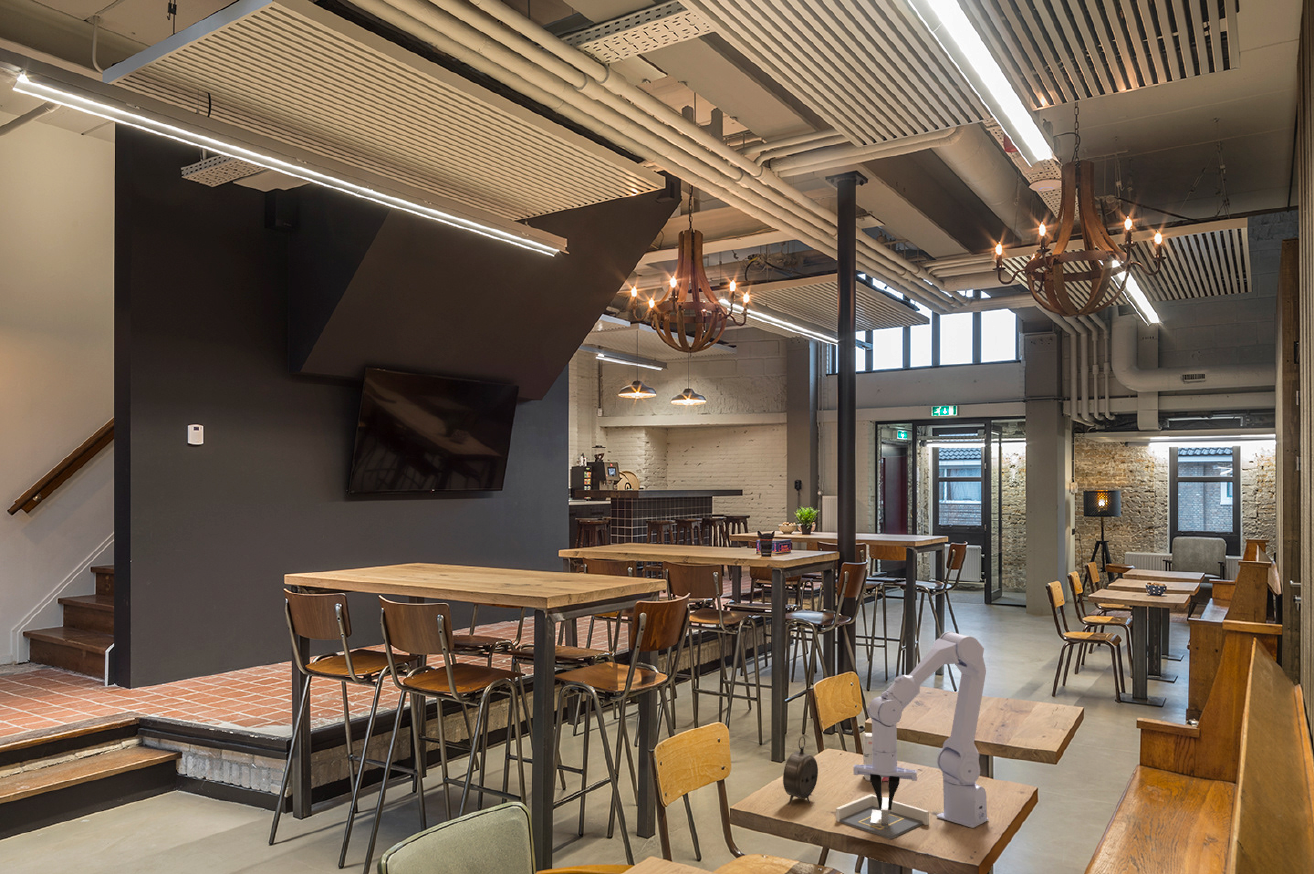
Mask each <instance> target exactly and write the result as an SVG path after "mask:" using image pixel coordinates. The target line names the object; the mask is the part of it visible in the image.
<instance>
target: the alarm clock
mask: <svg viewBox="0 0 1314 874" xmlns="http://www.w3.org/2000/svg"><path fill="white" fill-rule="evenodd" d="M801 739H803V746H800V745H801V744H800V743H801ZM805 746H806V738H805V736H804V735H801V736H800V737H799V738H798V748H799V750H796V751H794V752H792V754H790V756H789V757H788V758H787V760H786V763H785V765H784V770H783V774H782V783H783V788H784V791H785V793H786V794H787V795H789V796H790V797H789V801H788V805H791V804H792V801H793V799H794V797H795V798H797V799H801V800H803V799H806V800H807V802H808V804H810V803H811V801H810V796H811V794H813V792H814V790H815V788H816V785H817V781H818V776H819V767H818V763H817V760H816V758H815V757H814V756H813V755H812V754H809V753H806V752H804V751H805Z"/></svg>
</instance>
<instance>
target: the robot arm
mask: <svg viewBox="0 0 1314 874" xmlns="http://www.w3.org/2000/svg"><path fill="white" fill-rule="evenodd" d="M984 651H985V648H984V647H983V645H982V644H981V643H980V642H979V641H978V638H976V637H973V636H971V635H969V636H968V635H965V634H961V633H956V632H955V631H950V630H949V631H945V632H944V633H942V634H941V635H940V636H939V638H937V639H935V641H934V642H933V645H932V648H931V649H930V650H929V651H928V652H927V653H926V654H925V656H924V657H923V658H922V659H921V660H920V661H919V663H918V664H917V665H916V666H915V667H914V668H913V670H912V671H911V672H910V673H909V674H901V675H900V676H896V677H895V678H894V679H893V680H894V682H893V683H892V684H891V685H890V686H889V687H888V688H887V689H886V690H885V691H882V692H881V696H876V697H874V698H873V699H871V701H870V702H869V705H868V707H867V708H866V712H867V715H868V716H869V717H870V719H871V733H872V765H864V764H853V775H854V776H858V775H859V776H860V775H861V776H864V775H869V776H870V780H869V781H870V784H871V786H872V789H873V790H874V793H875V795H876V796H877V800H878V804H879V809H881V808H882V797H883V795H882V793H883V792H882V781H881V777H889V781H887V782H888V798H889V802H888V810H891V809H892V801H894V797H895V795H896V792H897V789H898V787H899V785H900V781H901V780H902V779H903V780H911V781H914V782H917V781H918V780H917V778H918V777H917V775H918V774H917V771H918V770H916V769H908V768H903V767H900V766H898V746H897V745H898V743H897V742H898V739H897V736H898V735H897V734H898V733H897V729H898V728H897V724H898V723H899V722H900V721H901V718H902V714H903V711H904V710H905V708H907V707H908V705H909V704H911V702H912V701H913V700H915V698H916V697H917V696H918V695H919V694H920V692H921V691H920V690H921V685H922V684H924V682H925V681H926V680H927V679H929V677H931V676H932V675H933V674H935V672H937V671H938V670H939V669H940V668H941V667H942V666H943V665H955V667H957V669H958V670H959V672H960V674H961V675H960V680H959V686H958V691H957V692H958V693H957V697H956V698H957V699H956V704H955V710H954V715H953V721H952V727H951V733H950V736H949V737H948V738H947V739H946V740H944V741H943V744H942V748H941V750H940V751H939V752H938V754H937V760H936V763H937V767H938V768H939V770H940V771H941V772H942V779H943V781H942V782H943V783H942V785H943V790H942V791H943V812H940V813H938V814H936V818H937V819H941V820H945V821H947V822H948V821H949V822H952V823H955V824H958V825H962V826H964V827H969V828H971V829H973V828H977V827H978V826H979V825H981V824H983V823H986V822H988V821H989V817H988V811H987V810H988V809H987V807H988V806H987V792H986V789H985V787H983V786H981V785H978V783H977V781H978V779H979V778H980V775H981V766H980V762H979V761H980V760H979V759H980V752H979V751H978V749H977V746H976V745H975V740H976V733H977V728H978V727H977V726H978V721H979V715H980V710H981V705H982V704H981V703H982V698H983V693H984V692H983V691H984V686H985V682H986V676H987V675H986V674H987V668H986V663H985V660H984Z"/></svg>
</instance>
